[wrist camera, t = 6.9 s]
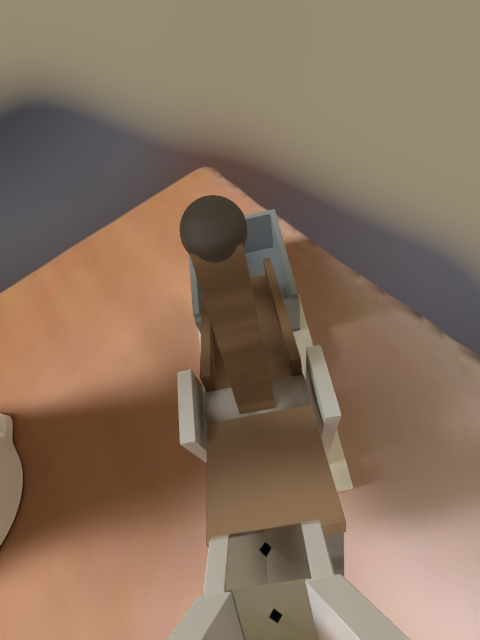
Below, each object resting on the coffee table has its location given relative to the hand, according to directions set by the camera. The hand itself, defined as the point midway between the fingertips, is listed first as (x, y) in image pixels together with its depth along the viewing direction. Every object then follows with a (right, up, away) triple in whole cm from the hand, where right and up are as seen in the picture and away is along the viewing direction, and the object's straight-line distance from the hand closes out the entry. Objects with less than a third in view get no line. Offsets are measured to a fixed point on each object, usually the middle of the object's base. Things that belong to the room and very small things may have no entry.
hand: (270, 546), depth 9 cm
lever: (+1, -2, +17) cm, 17 cm away
